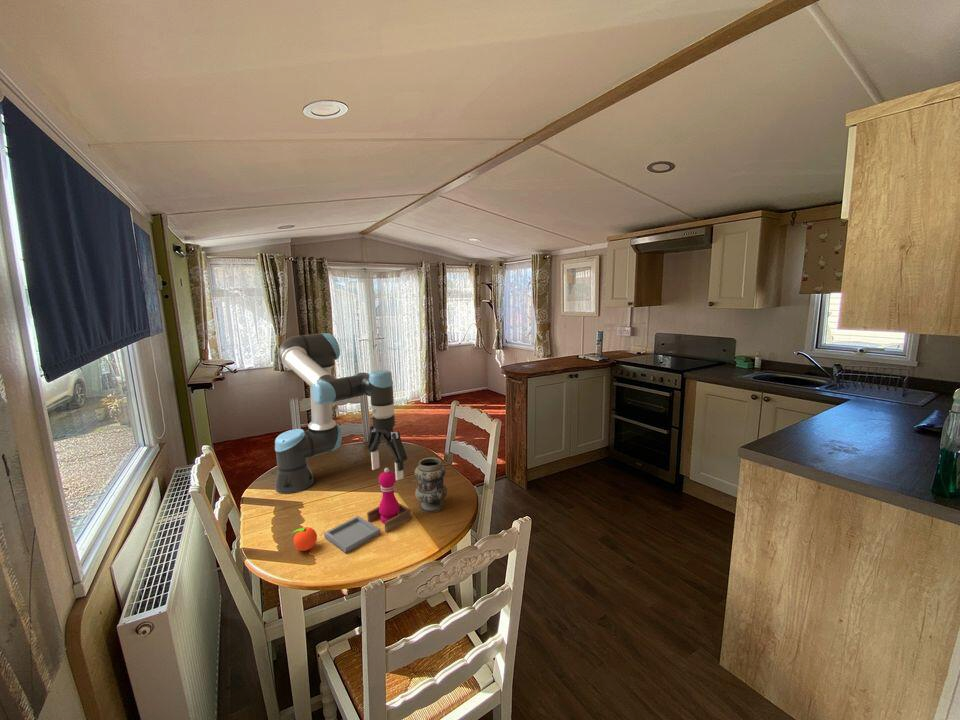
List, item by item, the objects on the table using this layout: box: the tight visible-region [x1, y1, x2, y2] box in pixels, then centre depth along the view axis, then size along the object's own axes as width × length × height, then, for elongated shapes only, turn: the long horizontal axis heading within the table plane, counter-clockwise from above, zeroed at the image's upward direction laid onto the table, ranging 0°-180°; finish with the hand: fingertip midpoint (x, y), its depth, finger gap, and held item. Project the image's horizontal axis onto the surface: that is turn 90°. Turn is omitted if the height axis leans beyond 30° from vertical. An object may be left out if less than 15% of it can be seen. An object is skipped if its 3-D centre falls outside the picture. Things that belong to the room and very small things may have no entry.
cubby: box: [366, 503, 412, 533], centre depth 144 cm, size 11×11×4 cm
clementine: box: [291, 526, 318, 552], centre depth 128 cm, size 8×7×7 cm
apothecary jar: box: [414, 457, 448, 514], centre depth 151 cm, size 12×12×18 cm
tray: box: [323, 515, 381, 554], centre depth 134 cm, size 13×13×2 cm
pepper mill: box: [378, 467, 400, 525], centre depth 142 cm, size 7×7×20 cm
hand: (387, 473), depth 141 cm, fingers open, 13 cm apart
